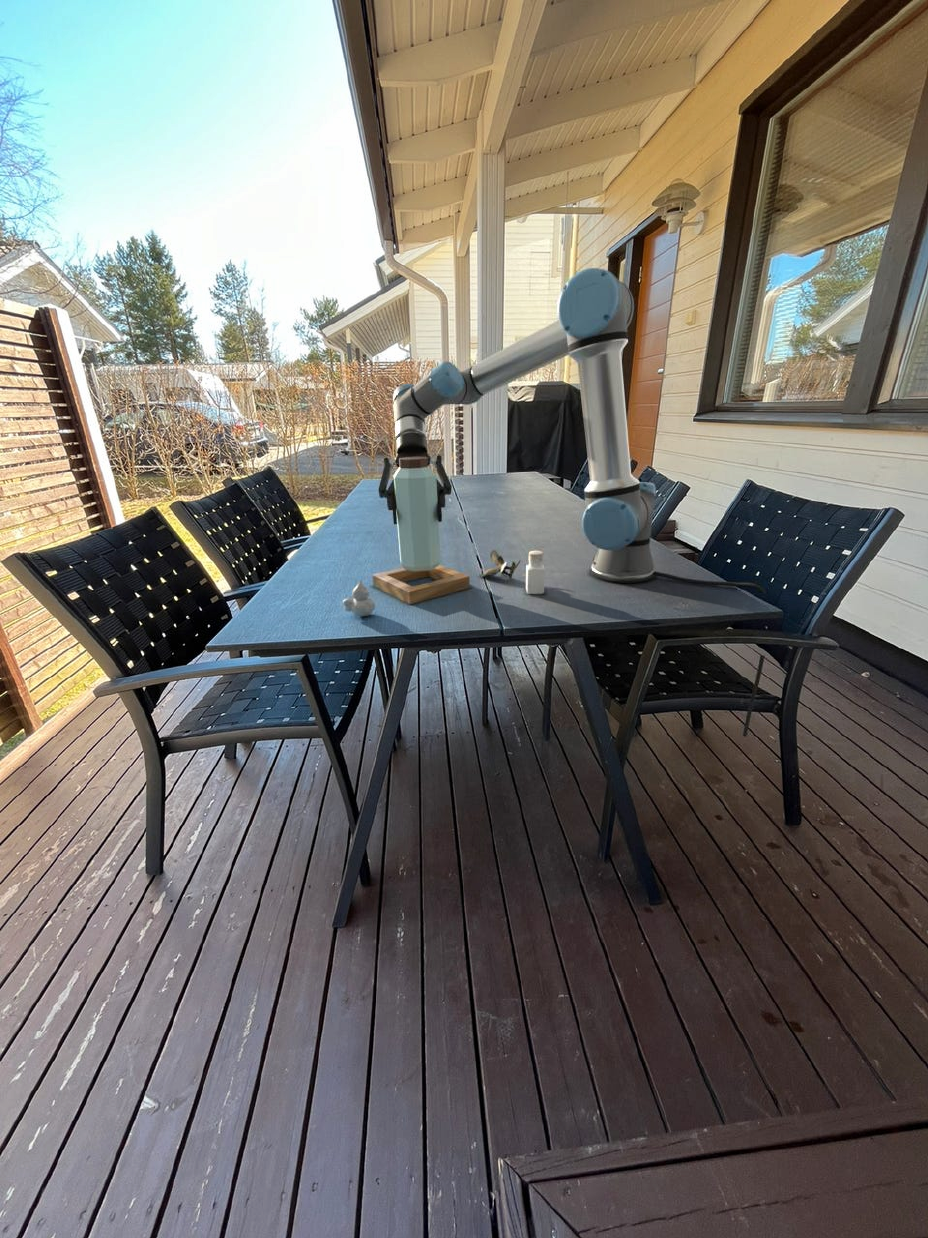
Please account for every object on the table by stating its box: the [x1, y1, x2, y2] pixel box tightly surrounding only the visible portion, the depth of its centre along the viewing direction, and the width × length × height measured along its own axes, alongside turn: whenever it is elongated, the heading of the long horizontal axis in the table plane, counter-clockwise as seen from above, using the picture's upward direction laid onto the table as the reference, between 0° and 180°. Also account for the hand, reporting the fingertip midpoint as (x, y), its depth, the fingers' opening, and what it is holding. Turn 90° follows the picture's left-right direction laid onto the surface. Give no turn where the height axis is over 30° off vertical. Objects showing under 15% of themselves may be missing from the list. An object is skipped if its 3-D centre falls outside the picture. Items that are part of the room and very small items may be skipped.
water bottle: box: [393, 457, 441, 571], centre depth 121 cm, size 10×10×25 cm
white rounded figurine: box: [342, 580, 376, 617], centre depth 110 cm, size 5×7×8 cm
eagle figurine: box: [480, 549, 521, 581], centre depth 132 cm, size 8×7×9 cm
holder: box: [372, 564, 471, 605], centre depth 127 cm, size 17×17×3 cm
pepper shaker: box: [525, 550, 546, 595], centre depth 121 cm, size 4×4×10 cm
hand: (417, 519), depth 119 cm, fingers closed on water bottle, 9 cm apart
